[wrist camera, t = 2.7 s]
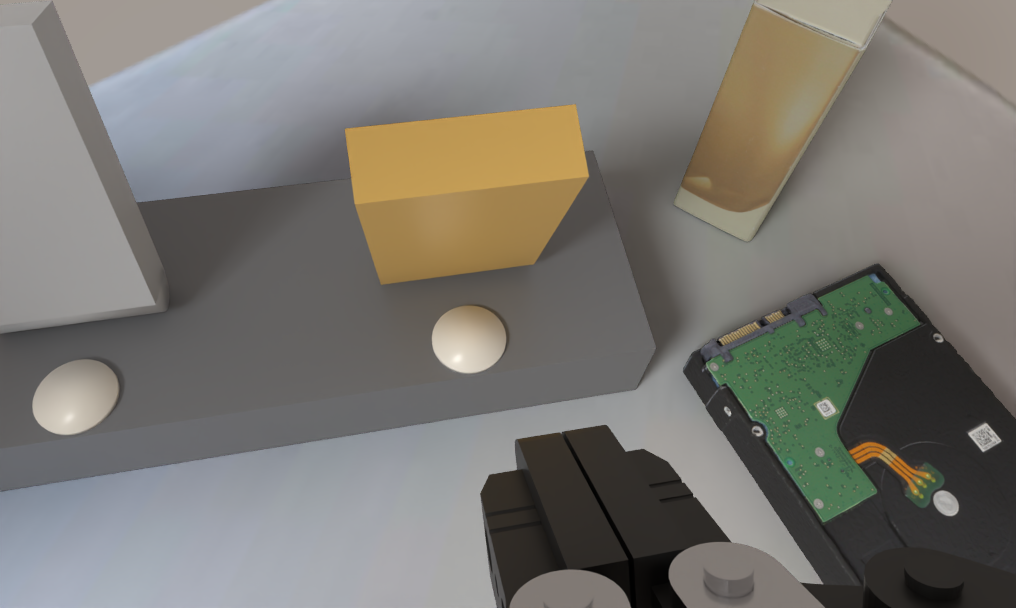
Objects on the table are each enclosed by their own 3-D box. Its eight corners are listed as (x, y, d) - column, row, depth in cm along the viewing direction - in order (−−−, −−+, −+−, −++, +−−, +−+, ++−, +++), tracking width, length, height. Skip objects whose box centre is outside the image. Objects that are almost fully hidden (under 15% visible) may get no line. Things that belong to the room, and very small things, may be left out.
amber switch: (382, 289, 29) (354, 204, 18) (375, 240, 29) (344, 128, 18) (530, 269, 29) (588, 176, 19) (522, 222, 30) (575, 104, 19)
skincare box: (718, 130, 39) (812, -90, 28) (794, 165, 38) (920, -50, 27) (667, 209, 36) (749, -2, 25) (747, 250, 35) (868, 47, 24)
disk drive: (1095, 578, 29) (850, 287, 35) (1153, 566, 26) (880, 255, 32) (900, 716, 26) (672, 374, 32) (946, 717, 24) (689, 346, 30)
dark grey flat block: (-73, 502, 27) (-156, 470, 24) (-28, 281, 32) (-91, 225, 29) (635, 389, 31) (657, 345, 27) (581, 205, 36) (593, 147, 32)
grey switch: (-12, 347, 26) (-216, 44, 19) (7, 311, 27) (-177, 18, 20) (164, 323, 27) (31, 23, 20) (172, 289, 28) (52, 0, 21)
